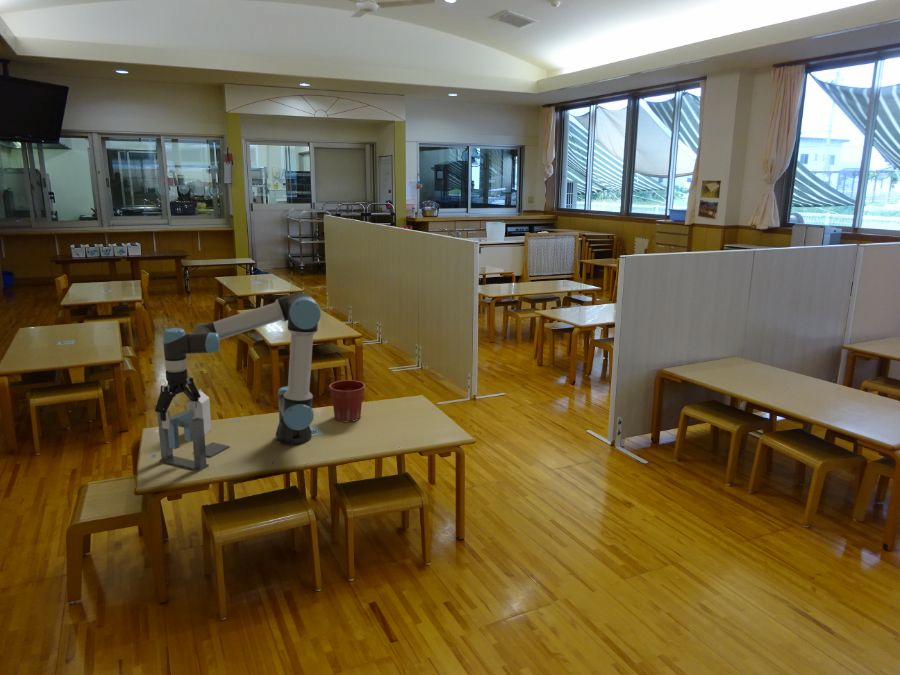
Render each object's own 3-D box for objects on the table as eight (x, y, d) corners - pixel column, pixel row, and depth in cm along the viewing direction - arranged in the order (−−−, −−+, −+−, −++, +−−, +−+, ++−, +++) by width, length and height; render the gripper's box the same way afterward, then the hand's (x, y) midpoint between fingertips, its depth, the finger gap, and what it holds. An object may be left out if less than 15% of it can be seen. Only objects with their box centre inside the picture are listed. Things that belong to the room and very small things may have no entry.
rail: (208, 466, 250) (205, 417, 245) (199, 471, 245) (195, 422, 240) (169, 456, 257) (165, 409, 252) (159, 461, 253) (155, 413, 248)
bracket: (189, 438, 254) (186, 409, 251) (194, 439, 253) (192, 411, 250) (169, 447, 245) (166, 418, 242) (175, 449, 244) (172, 419, 241)
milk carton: (211, 429, 285) (208, 389, 280) (204, 436, 278) (201, 394, 273) (196, 428, 286) (193, 388, 281) (188, 435, 279) (185, 393, 274)
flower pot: (339, 409, 313) (338, 378, 309) (370, 413, 309) (370, 382, 305) (324, 421, 298) (323, 388, 294) (356, 426, 294) (356, 392, 290)
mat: (229, 447, 267) (229, 446, 267) (210, 457, 257) (210, 456, 257) (212, 443, 270) (212, 442, 270) (193, 453, 261) (193, 452, 260)
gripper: (193, 360, 254) (196, 410, 259) (141, 376, 232) (146, 431, 237) (208, 362, 252) (210, 413, 257) (157, 379, 229) (161, 435, 234)
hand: (179, 422), depth 247 cm, fingers open, 13 cm apart
